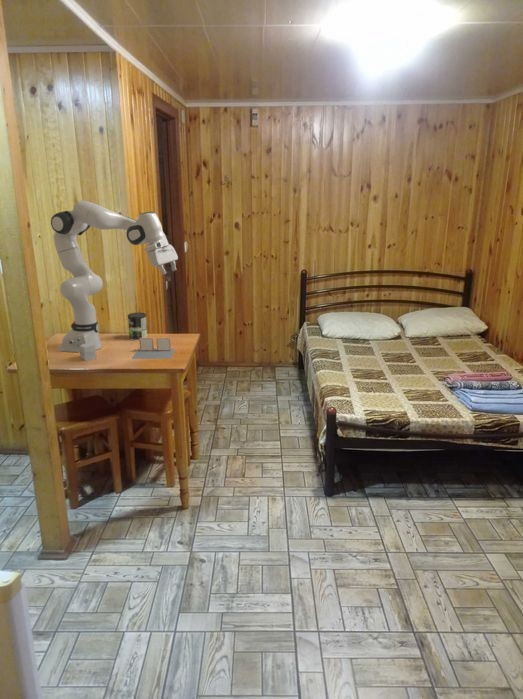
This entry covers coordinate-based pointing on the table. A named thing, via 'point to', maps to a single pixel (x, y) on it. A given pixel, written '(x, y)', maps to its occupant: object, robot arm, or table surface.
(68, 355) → the table surface
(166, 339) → the tile
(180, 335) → the table surface
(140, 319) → the coffee can
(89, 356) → the skincare box
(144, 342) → the tile
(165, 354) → the mat
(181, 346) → the table surface
